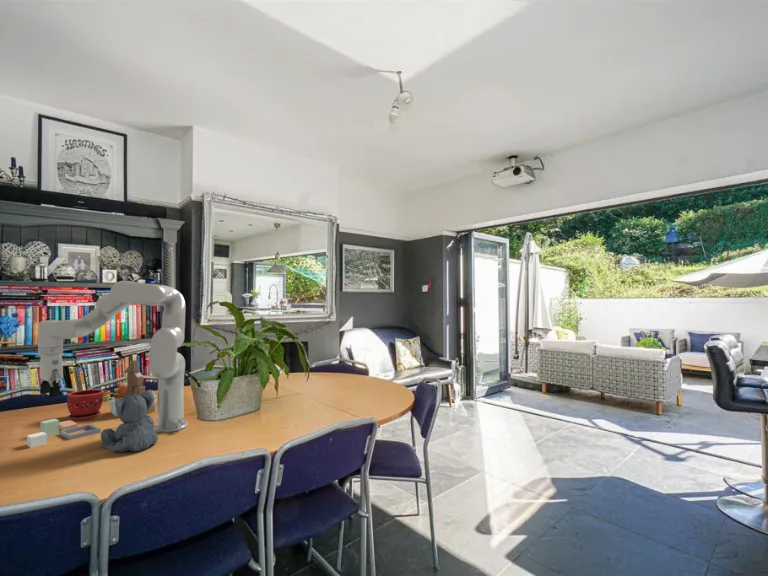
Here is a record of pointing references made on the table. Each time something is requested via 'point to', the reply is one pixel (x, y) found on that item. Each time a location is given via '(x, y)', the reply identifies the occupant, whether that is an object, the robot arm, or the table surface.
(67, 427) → the terracotta brick
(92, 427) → the grey tray
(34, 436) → the cream cube
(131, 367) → the wooden toy
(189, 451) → the table surface
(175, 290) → the robot arm
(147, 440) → the koala plush
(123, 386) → the toy tea set
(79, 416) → the plant pot
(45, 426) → the sage block
